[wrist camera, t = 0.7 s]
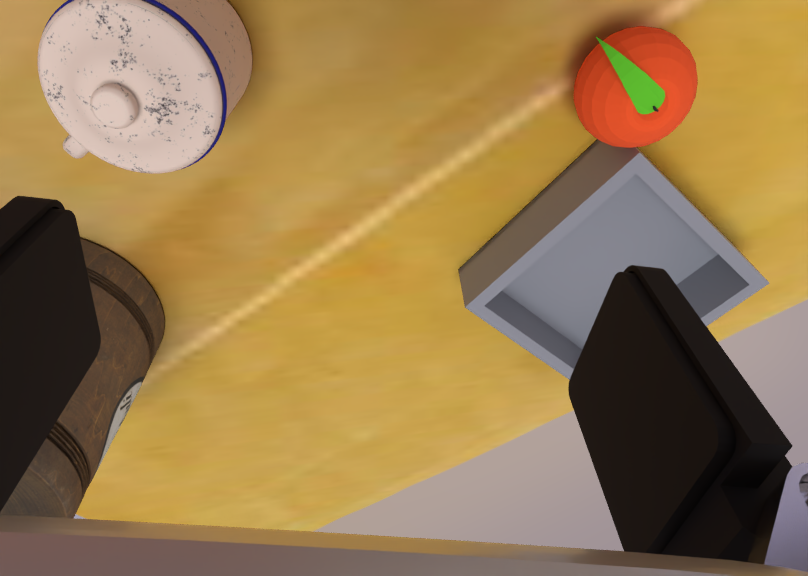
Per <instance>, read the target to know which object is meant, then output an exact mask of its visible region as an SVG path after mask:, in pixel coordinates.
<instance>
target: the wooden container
mask: <svg viewBox="0 0 808 576" xmlns="http://www.w3.org/2000/svg"><path fill="white" fill-rule="evenodd" d="M80 240H81V245H82V250H83V255H84V259H85V264H86V269H87V273H88V278H89V283H90V287H91V292H92V297H93V301H94V306H95V311H96V316H97V320H98V325H99V330H100V335H101V344H100V349H99V352H98V355H97V357H96V358H95V360H94V362H93V363H92V365H91V367H90V368H89V370H88V371H87V373H86V375H85V376H84V378H83V379H82V381H81V383H80V384H79V386H78V388H77V389H76V391H75V392H74V394H73V396H72V397H71V399H70V400H69V402H68V404H67V405H66V407H65V409H64V410H63V412H62V413H61V415H60V417H59V418H58V420H57V421H56V423H55V425H54V426H53V428H52V430H51V431H50V433H49V434H48V436H47V438H46V439H45V441H44V442H43V444H42V446H41V447H40V449H39V451H38V452H37V454H36V455H35V457H34V459H33V460H32V462H31V463H30V465H29V467H28V468H27V470H26V472H25V473H24V475H23V476H22V478H21V480H20V481H19V483H18V484H17V486H16V488H15V489H14V491H13V493H12V494H11V496H10V497H9V499H8V501H7V502H6V504H5V505H4V507H3V509H2V510H1V512H0V515H17V516H37V517H55V518H74V516H75V514H76V512H77V510H78V508H79V505H80V503H81V501H82V499H83V497H84V494H85V492H86V490H87V488H88V486H89V484H90V483H91V481H92V479H93V477H94V475H95V473H96V471H97V469H98V468H99V466H100V464H101V462H102V460H103V458H104V456H105V454H106V452H107V450H108V448H109V446H110V444H111V442H112V441H113V439H114V437H115V435H116V433H117V431H118V429H119V427H120V426H121V424H122V422H123V420H124V418H125V416H126V414H127V412H128V410H129V408H130V406H131V404H132V403H133V401H134V399H135V397H136V395H137V393H138V391H139V389H140V386H141V384H142V382H143V380H144V378H145V376H146V373H147V371H148V369H149V367H150V365H151V363H152V360H153V358H154V356H155V354H156V352H157V350H158V347H159V345H160V343H161V340H162V338H163V334H164V326H165V322H164V314H163V310H162V307H161V304H160V301H159V299H158V297H157V295H156V294H155V292H154V290H153V289H152V287H151V286H150V285H149V283H148V282H147V281H146V279H145V278H144V277H143V276H142V275H141V274H140V273H139V272H138V271H137V270H136V269H135V268H133V267H132V266H131V265H130V264H128V263H127V262H126V261H125V260H123V259H122V258H120V257H119V256H117V255H116V254H114V253H112V252H110V251H109V250H107V249H105V248H102V247H100V246H98V245H96V244H94V243H91V242H89V241H86V240H83V239H80Z"/></svg>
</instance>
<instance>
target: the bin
mask: <svg viewBox="0 0 808 576" xmlns="http://www.w3.org/2000/svg"><path fill="white" fill-rule="evenodd" d="M631 265H636V266H645V267H654V268H661V269H664V270H665V271H666V272H667V273H668V274H669V276H670V277H671V278H672V280H673V281H674V283H675V284H676V285H677V287H678V288H679V289H680V291H681V292H682V294H683V295H684V296H685V298H686V299H687V301H688V302H689V303H690V305H691V306H692V307H693V309H694V310H695V312H696V313H697V314H698V316H699V317H700V319H701V320H702V321H703V323H704V324H705V325H706V326H707V325H709V324H710V323H712V322H713V321H715V320H716V319H718V318H719V317H721V316H722V315H724V314H725V313H726V312H728V311H729V310H731V309H732V308H734V307H735V306H737V305H738V304H740V303H741V302H743V301H744V300H746V299H747V298H748V297H750V296H751V295H753V294H754V293H756V292H757V291H759V290H760V289H762V288H763V287H765V286H766V285H767V284H769V282H768V281H767V280H766V279H765V278H764V277H763V276H762V275H761V274H760V272H759V271H758V270H757V269H756V268H755V267H754V266H753V265H752V264H751V263H750V262H749V261H748V260H747V259H746V258H745V256H744V255H743V254H742V253H741V252H740V251H739V250H738V249H737V248H736V247H735V246H734V245H733V244H732V243H731V242H730V241H729V240H728V239H727V238H726V237H725V236H724V235H723V234H722V233H721V232H720V231H719V230H718V229H717V228H716V227H715V226H714V225H713V224H712V223H711V222H710V221H709V220H708V219H707V218H706V217H705V216H704V215H703V214H702V213H701V212H700V211H699V210H698V209H697V208H696V207H695V206H694V205H693V203H692V202H691V201H690V200H689V199H688V198H687V197H686V196H685V195H684V194H683V193H682V192H681V191H680V190H679V189H678V188H677V187H676V186H675V185H674V184H673V183H672V182H671V181H670V180H669V179H668V178H667V177H666V176H665V175H664V174H663V173H662V172H661V171H660V170H659V169H658V168H657V167H656V166H655V165H654V164H653V163H652V162H651V161H650V160H649V159H648V158H647V157H646V156H645V155H644V154H643V153H642V152H641V151H640V150H639V149H638V148H637V147H633V148H624V147H615V146H611V145H609V144H606V143H604V142H601V141H600V140H598V139H597V140H596V141H595V142H594V143H593V144H592V145H591V146H590V147H589V148H588V149H587V150H586V151H584V152H583V153H582V154H581V155H580V156H579V157H578V158H577V159H576V160H575V161H574V162H573V163H572V164H571V165H570V166H568V167H567V168H566V169H565V170H564V171H563V172H562V173H561V174H560V175H559V176H558V177H557V178H556V179H555V180H554V181H552V182H551V183H550V184H549V185H548V186H547V187H546V188H545V189H544V190H543V191H542V192H541V193H540V194H539V195H537V196H536V197H535V198H534V199H533V200H532V201H531V202H530V203H529V204H528V205H527V206H526V207H525V208H524V209H523V210H521V211H520V212H519V213H518V214H517V215H516V216H515V217H514V218H513V219H512V220H511V221H510V222H509V223H508V224H506V225H505V226H504V227H503V228H502V229H501V230H500V231H499V232H498V233H497V234H496V235H495V236H494V237H493V238H492V239H490V240H489V241H488V242H487V243H486V244H485V245H484V246H483V247H482V248H481V249H480V250H479V251H478V252H477V253H475V254H474V255H473V256H472V257H471V258H470V259H469V260H468V261H467V262H466V263H465V264H464V265H463V266H462V267H461V268H459V269H458V270H459V276H460V282H461V287H462V293H463V299H464V304H465V308H467V309H468V310H470V311H471V312H472V313H474V314H475V315H477V316H478V317H480V318H481V319H483V320H484V321H485V322H487V323H488V324H490V325H491V326H493V327H494V328H496V329H497V330H498V331H500V332H501V333H503V334H504V335H506V336H507V337H509V338H510V339H511V340H513V341H514V342H516V343H517V344H519V345H520V346H522V347H523V348H524V349H526V350H527V351H529V352H530V353H532V354H533V355H535V356H536V357H537V358H539V359H540V360H542V361H543V362H545V363H546V364H548V365H549V366H550V367H552V368H553V369H555V370H556V371H558V372H559V373H561V374H562V375H563V376H565V377H566V378H568V379H569V380H570V377H571V375H572V373H573V370H574V368H575V366H576V363H577V361H578V359H579V356H580V354H581V352H582V349H583V347H584V345H585V342H586V340H587V338H588V335H589V333H590V331H591V328H592V326H593V324H594V321H595V319H596V317H597V315H598V312H599V310H600V308H601V305H602V303H603V301H604V298H605V296H606V294H607V291H608V289H609V287H610V284H611V282H612V280H613V278H614V276H615V275H616V274H617V273H618V272H624V270H625V269H626V268H627V267H628V266H631Z"/></svg>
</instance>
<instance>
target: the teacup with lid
mask: <svg viewBox="0 0 808 576" xmlns="http://www.w3.org/2000/svg"><path fill="white" fill-rule="evenodd" d="M251 71H252V50H251V45H250V41H249V37H248V34H247V32H246V29H245V27H244V25H243V23H242V21H241V19H240V17H239V16H238V14H237V13H236V11H235V10H234V9H233V7H232V6H231V5H230V4H229V3H228V2H227V1H226V0H68V1H67V2H65V3H64V4H62V5H61V6H60V7H59V8H58V9H57V10H56V11H55V12H54V14H53V15H52V16H51V17H50V19H49V21H48V22H47V24H46V26H45V29H44V31H43V34H42V37H41V40H40V44H39V49H38V72H39V78H40V82H41V86H42V89H43V92H44V95H45V98H46V100H47V102H48V104H49V106H50V108H51V110H52V112H53V113H54V115H55V117H56V118H57V119H58V121H59V122H60V124H61V125H62V126H63V127H64V129H65V130H66V131H67V132H68V133H69V134H70V135H69V136H68V137H67V138H66V139H65V140H64V142H63V148H64V150H65V151H66V152H68V153H69V154H70V155H71V156H72V157H74V158H82V157H84V156H85V155H86V154H87V153H88V152H91V153H92V154H94V155H95V156H97V157H99V158H100V159H102V160H104V161H106V162H108V163H110V164H113V165H115V166H117V167H120V168H123V169H127V170H131V171H135V172H141V173H167V172H172V171H176V170H180V169H183V168H186V167H188V166H190V165H192V164H194V163H196V162H198V161H199V160H200V159H202V158H203V157H204V156H205V155H206V154H207V153H209V151H210V150H211V149H212V148H213V147H214V145H215V144H216V142H217V141H218V139H219V137H220V135H221V133H222V130H223V127H224V124H225V120H226V119H227V118H228V116H229V115H230V113H231V112H232V110H233V109H234V107H235V106H236V104H237V103H238V101H239V100H240V98H241V97H242V95H243V94H244V92H245V90H246V88H247V86H248V83H249V81H250V77H251Z"/></svg>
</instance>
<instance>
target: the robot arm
mask: <svg viewBox="0 0 808 576" xmlns="http://www.w3.org/2000/svg"><path fill="white" fill-rule="evenodd" d="M100 344H101V335H100V330H99V325H98V320H97V316H96V311H95V306H94V301H93V297H92V292H91V287H90V283H89V278H88V273H87V269H86V264H85V259H84V255H83V250H82V245H81V240H80V236H79V231H78V226H77V222H76V218H75V215H74V214H73V212H72V211H70V210H65V208H64V206H63V205H62V203H61V202H59V201H58V200H52V199H43V198H34V197H26V196H17V197H15V198H13V199H12V200H11V201H10V202H8V203H7V204H6V205H5V206H4V207H2V208H1V209H0V512H1V510H2V509H3V507H4V505H5V504H6V502H7V501H8V499H9V497H10V496H11V494H12V493H13V491H14V489H15V488H16V486H17V484H18V483H19V481H20V480H21V478H22V476H23V475H24V473H25V472H26V470H27V468H28V467H29V465H30V463H31V462H32V460H33V459H34V457H35V455H36V454H37V452H38V451H39V449H40V447H41V446H42V444H43V442H44V441H45V439H46V438H47V436H48V434H49V433H50V431H51V430H52V428H53V426H54V425H55V423H56V421H57V420H58V418H59V417H60V415H61V413H62V412H63V410H64V409H65V407H66V405H67V404H68V402H69V400H70V399H71V397H72V396H73V394H74V392H75V391H76V389H77V388H78V386H79V384H80V383H81V381H82V379H83V378H84V376H85V375H86V373H87V371H88V370H89V368H90V367H91V365H92V363H93V362H94V360H95V358H96V357H97V355H98V352H99V349H100ZM569 396H570V400H571V403H572V406H573V408H574V411H575V414H576V417H577V419H578V422H579V425H580V428H581V431H582V433H583V436H584V439H585V442H586V445H587V448H588V450H589V453H590V456H591V459H592V462H593V465H594V468H595V470H596V473H597V476H598V479H599V482H600V484H601V487H602V490H603V493H604V496H605V499H606V501H607V504H608V507H609V510H610V513H611V515H612V518H613V521H614V524H615V527H616V530H617V532H618V535H619V538H620V541H621V544H622V546H623V549H624V551H610V550H594V549H580V548H563V547H549V546H532V545H518V544H502V543H501V544H500V543H485V542H471V541H456V540H440V539H424V538H407V537H391V536H390V537H389V536H374V535H357V534H340V533H323V532H307V531H290V530H273V529H255V528H238V527H221V526H203V525H184V524H166V523H147V522H129V521H111V520H92V519H74V518H55V517H37V516H17V515H0V576H808V463H801V464H798V465H796V466H793V467H792V466H791V464H790V463H789V461H788V460H787V458H786V457H785V455H786V453H787V452H788V451H789V450H790V449H791V447H792V445H791V443H790V442H789V440H788V439H787V438H786V437H785V435H784V434H783V432H782V431H781V429H780V428H779V427H778V425H777V424H776V422H775V421H774V420H773V418H772V417H771V416H770V414H769V413H768V411H767V410H766V409H765V407H764V406H763V405H762V403H761V402H760V400H759V399H758V398H757V396H756V395H755V393H754V392H753V391H752V389H751V388H750V386H749V385H748V384H747V382H746V381H745V380H744V378H743V377H742V375H741V374H740V373H739V371H738V370H737V368H736V367H735V366H734V364H733V363H732V361H731V360H730V359H729V357H728V356H727V355H726V353H725V352H724V350H723V349H722V348H721V346H720V345H719V344H718V342H717V341H716V339H715V338H714V337H713V335H712V334H711V332H710V331H709V330H708V328H707V327H706V325H705V324H704V323H703V321H702V320H701V319H700V317H699V316H698V314H697V313H696V312H695V310H694V309H693V307H692V306H691V305H690V303H689V302H688V301H687V299H686V298H685V296H684V295H683V294H682V292H681V291H680V289H679V288H678V287H677V285H676V284H675V283H674V281H673V280H672V278H671V277H670V276H669V274H668V273H667V272H666V271H665V270H664V269H661V268H654V267H645V266H636V265H631V266H628V267H627V268H626V269H625V270H624V272H618V273H617V274H616V275H615V276H614V278H613V280H612V282H611V284H610V287H609V289H608V291H607V294H606V296H605V298H604V301H603V303H602V305H601V308H600V310H599V312H598V315H597V317H596V319H595V321H594V324H593V326H592V328H591V331H590V333H589V335H588V338H587V340H586V342H585V345H584V347H583V349H582V352H581V354H580V356H579V359H578V361H577V363H576V366H575V368H574V370H573V373H572V375H571V377H570V381H569Z"/></svg>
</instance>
